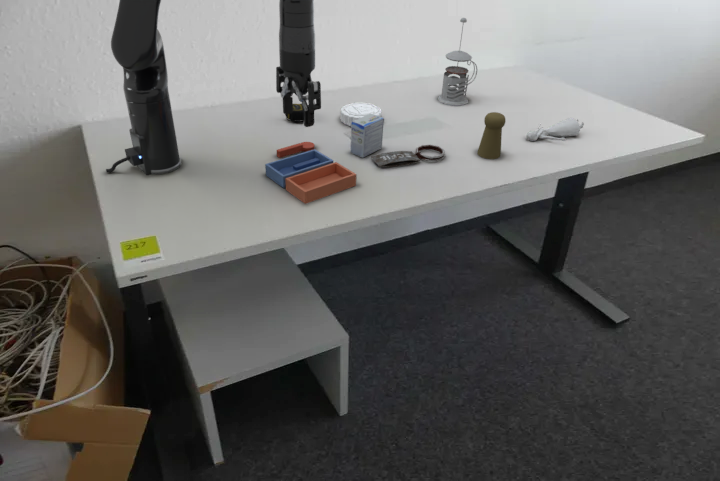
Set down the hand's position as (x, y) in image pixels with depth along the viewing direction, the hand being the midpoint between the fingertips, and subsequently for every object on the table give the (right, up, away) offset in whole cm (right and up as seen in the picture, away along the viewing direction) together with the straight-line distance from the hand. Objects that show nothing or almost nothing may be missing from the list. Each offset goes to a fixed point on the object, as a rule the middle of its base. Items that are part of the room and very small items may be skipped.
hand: (298, 119), depth 125 cm
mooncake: (+14, +7, +36) cm, 39 cm away
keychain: (+26, -7, +16) cm, 32 cm away
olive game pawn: (+48, -5, +20) cm, 52 cm away
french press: (+45, +18, +53) cm, 71 cm away
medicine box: (+16, -4, +19) cm, 25 cm away
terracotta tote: (+5, -15, +2) cm, 16 cm away
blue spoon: (0, -11, +7) cm, 13 cm away
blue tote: (0, -11, +7) cm, 13 cm away
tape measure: (-4, +8, +35) cm, 36 cm away
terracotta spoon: (-2, -5, +17) cm, 18 cm away
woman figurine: (+68, +2, +31) cm, 75 cm away
